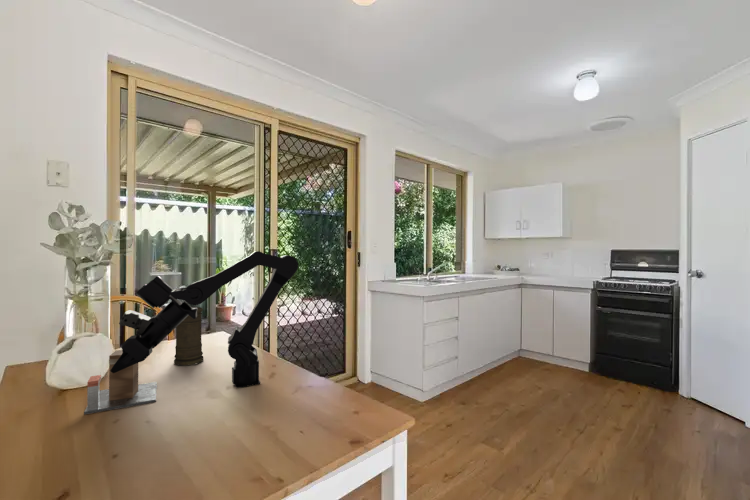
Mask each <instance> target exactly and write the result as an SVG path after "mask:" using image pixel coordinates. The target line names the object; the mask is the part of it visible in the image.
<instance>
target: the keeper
mask: <svg viewBox="0 0 750 500" xmlns="http://www.w3.org/2000/svg"><path fill="white" fill-rule="evenodd" d="M101 381H102V374H98V375H92V376H90V377H89V378H88V380H87V385H86V386H87V393H86V395H87V397H86V398H87V401H86V403H87V406H86V408H85V410H84V413H83V415H84V416H85V415H88V414H89V415H90V414H94V413H95V414H96V413H100V412H107V411H111V410H118V409H123V408H129V407H135V406H139V405H145V404H146V405H147V404H151V403H156V402H157V389H158V388H157V387H158V385H157V384H158V383H157V382H158V381H152V382H146V383H138V391H137V393H136V394H135V395H134V397H133V398H126V399H117V400H109V388H106V389H100V383H101Z"/></svg>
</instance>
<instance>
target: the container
mask: <svg viewBox="0 0 750 500" xmlns="http://www.w3.org/2000/svg"><path fill="white" fill-rule="evenodd" d="M191 307H192V308H198V309H197V317H196V319H193V318H192V317H191V316H189V315H188V316H187V317H186V318H185V319H184V320H183V321H182V322H181V323H180V324H179V325H178V326H177V327H176V328H175V346H174V347H175V354H174V356H173V357H174V360H173V363H174V365H175V366H183V367H184V366H185V367H186V366H193V365H197V364H200V363H202V362H203V361H204V356H203V354H204V352H203V350H202V348H203V343H202V321H203V320H202V315H203V313H202V312H203V311H204V309H203V307H199V306H191Z"/></svg>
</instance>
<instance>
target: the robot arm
mask: <svg viewBox="0 0 750 500" xmlns="http://www.w3.org/2000/svg"><path fill="white" fill-rule="evenodd" d="M258 266H262V267H266V268H269V269H273V270H272V273H271V275H270V276H271V277H270V279H269V282H268V283H267V285H266V287H265V289H264V291H263V292H262V294H260V295H261V296H260V297H259V298H258V300H257V302H256V304H255V305H254V307H253V308H252V310H251V312H250V314H249V315H248V317H247V319H246V321H245V322H244V323H243V324H242V325H241V327H239V326H237V325H235V327H234V329H233V332H232V333H231V334H230V335H229V336H228V339H227V344H228V346H227V348H228V349H227V353H228V355H229V356H230V358H231V359H234V361H233V366H232V367H231V382H232V384H233V385H234V386H235V388H236V389H239V388H240V389H241V388H245V387H246V388H247V387H251V386H256V385H261V380H260V360H259V357H258V356H259V355H258V350H257V348H256V347H254V345H253V344H254V342H255V337H256V334H257V331H258V329H259V328H260V326H261V324H262V322H263V320H264V319H265V317H266V315H267V314H268V312H269V311H270V309H271V307H272V305H273V303H274V302H275V300H276V299H277V297H278V295H279V293H280V291H281V290H282V288H284V286H285V285H287V283H288V282H289V281H290V280H291V279H292V278H293V276H294V275H295V274H296V273H297V272H298V270H299V262H298V260H297V259H296V257H294V256H292V255H288V254H287V255H281V256H276V255H272V254H268V253H263V252H262V251H260V250H259V251H258V250H257V251H253V252H252V253H251V254H249V255H247V256H246V257H244V258H243V259H241V260H239V261H237V262H236V263H234V264H233V265H230V266H229V267H227V268H224V269H223V270H221V271H220V272H218V273H216V274H213V275H211V276H208V277H205V278H202V279H199V280H197V281H194V282H192V283H190V284H189V285H187V286H186V287H185V286H184V287H177V288H173V287H172V286H170V284H168V283H167V282H166V281H165V280H164V278H163V277H162V276H160V275H157V276H155V277H154V278H153V279H152V280H150V281H149V282H148V283H147V284H146V283H145V284H144V285H143V286H142V287H140V288H139V289H138V290H137V291H136V292H135V295H136V296H137V297H139V298H140V299H141V300H142V301H144V302H145V303H146V304H147V305H149V307H151V308H152V309H155V308H156V309H157V308H159V309H161V308H162V307H163V306H164V305H166V304H167V303H168V302H169V300H171V301H170V302H169V303H168V304H167V305H166V306H165V307H164V308H162V310H160V311H159V312H158V313H157V314H154V315H153V316H152V317H151V316H148V315H145V314H143V313H141V312H137V311H135V310H133V309H132V310H131V309H130V310H129V309H128V310H127V311H125V312H124V314H123V315H122V316H120V320H119V322H118V324H119V325H120V326H123V327H128V328H131V329H134V330H136V331H135V335H134V334H133V335H131V336H130V337H128V338H127V339H125V341H123V343H121V350H122V352H123V353H122V355H121V356H120V358H119V359H118V360H117V362H116V363H115V364H114V366H113V367H112V369H111V370H110V371H111V372H112V373H116V372H118V371H120V370H123V369H125V368H127V367H129V366H132V365H134V364H136V363H138V364H139V363H142V362H144V361H145V360H146V359H147V358H148V357H149V356H150V355H151V354H152V353H153V349H155V348H157V346H158V345H159V344H160V343H161V342H163V340H164V339H165V338H166V337H167V336H168V335H170V334H171V333H173V331H174V330H176V327H177V326H178V325H179V324H180V323H181V322H182V321H183V320H184V319H185V318H186V317H187V316H188V315H189V316H191V317H192V318H193V319H196V317H197V309H198V308H192V307H193V306H199V305H200V304H202V303H204V302H205V301H206V300H208V299H209V298H210V297H211V296H212V295H213V294H214V293H216V292H217V291H218V290H220V289H221V288H222V287H223V286H225V285H227V284H229V283H231V282H233V281H234V280H235V279H237V278H239V277H241V276H242V275H244V274H246V273H248V272H249V271H251V270H253V269H255V268H256V267H258ZM181 301H183V302H181ZM191 305H192V306H191Z"/></svg>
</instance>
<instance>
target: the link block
mask: <svg viewBox="0 0 750 500" xmlns="http://www.w3.org/2000/svg"><path fill="white" fill-rule="evenodd" d="M122 353H123V352H122V349H120V350H119V349H118V350H115V351H113V352H112V353H111V354H110V355H109V356H108V357H109V359H108V373H109V374H108V379H109V380H108V382H109V383H108V389H109V400H117V399H126V398H133V397H134V395H135V394H136V393H137V391H138V384H139V363H136V364H134V365H132V366H129V367H127V368H125V369H123V370H120V371H118V372H116V373H112V372H111V371H110V370H111V369H112V367H113V366H114V364H115V363H116V362H117V360H118V359H119V358H120V356H121V355H122Z"/></svg>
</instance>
